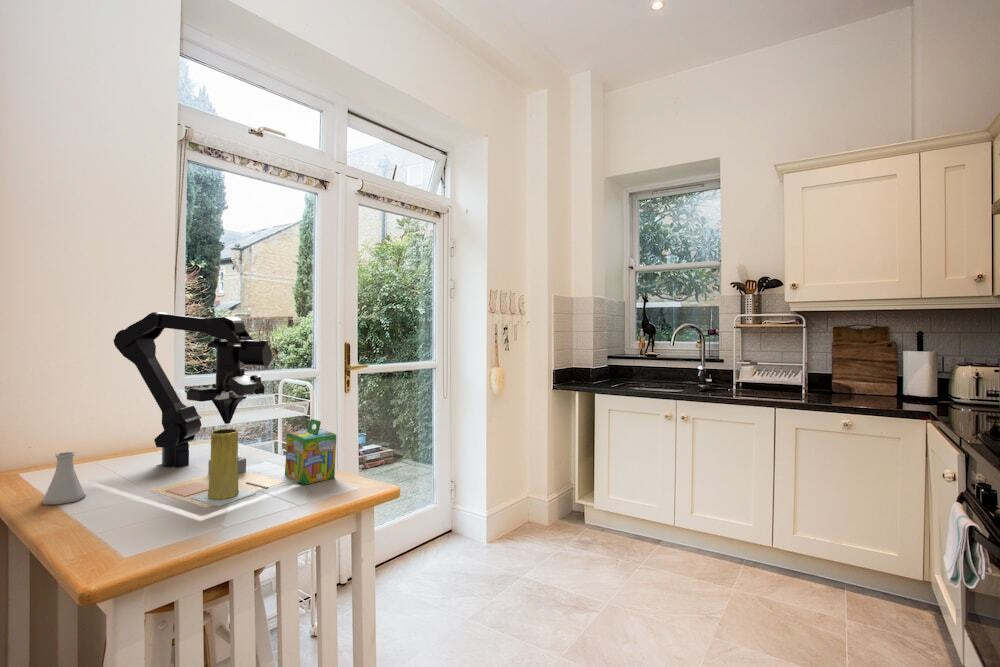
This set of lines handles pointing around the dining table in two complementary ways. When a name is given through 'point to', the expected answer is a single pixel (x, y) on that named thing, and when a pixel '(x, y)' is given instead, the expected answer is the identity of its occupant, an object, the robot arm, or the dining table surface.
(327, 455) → the chalk box
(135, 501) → the dining table surface
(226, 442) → the vase
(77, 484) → the flask
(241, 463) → the button housing
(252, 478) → the picture board
